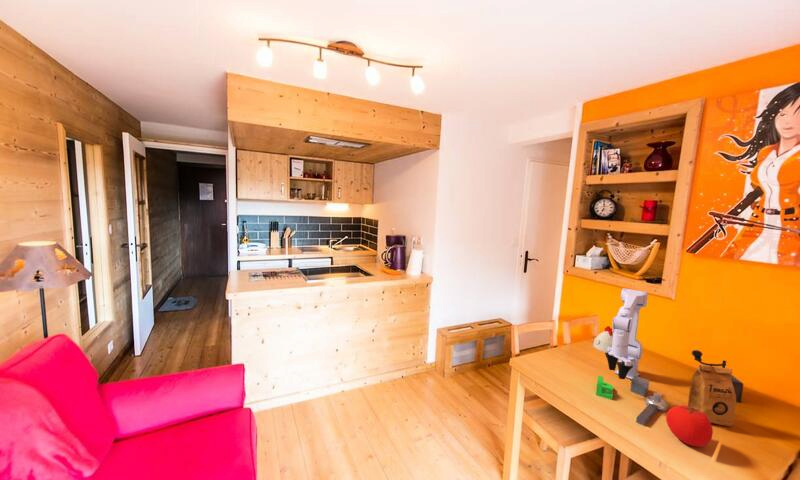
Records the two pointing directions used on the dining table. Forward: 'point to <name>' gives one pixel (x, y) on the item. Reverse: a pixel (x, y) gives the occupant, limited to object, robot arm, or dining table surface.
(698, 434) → the tomato
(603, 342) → the kitchen timer
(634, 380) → the grey square block
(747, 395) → the dining table surface
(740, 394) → the manual coffee grinder
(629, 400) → the dining table surface
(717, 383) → the coffee package
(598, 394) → the mechanical part
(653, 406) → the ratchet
